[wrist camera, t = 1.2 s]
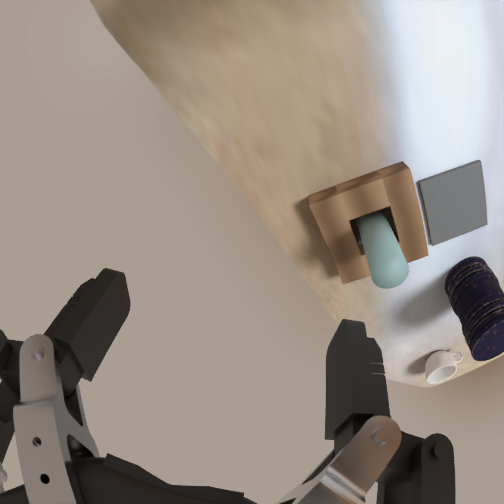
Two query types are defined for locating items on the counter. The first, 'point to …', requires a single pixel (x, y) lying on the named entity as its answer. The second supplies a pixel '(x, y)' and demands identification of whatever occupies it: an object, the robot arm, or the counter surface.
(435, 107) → the counter surface
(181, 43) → the counter surface
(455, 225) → the mat
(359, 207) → the pocket block
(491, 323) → the storage jar
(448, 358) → the teacup
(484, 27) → the counter surface
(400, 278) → the peg
